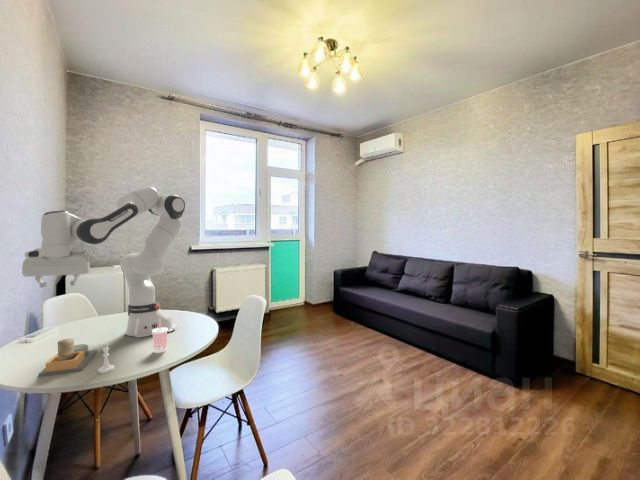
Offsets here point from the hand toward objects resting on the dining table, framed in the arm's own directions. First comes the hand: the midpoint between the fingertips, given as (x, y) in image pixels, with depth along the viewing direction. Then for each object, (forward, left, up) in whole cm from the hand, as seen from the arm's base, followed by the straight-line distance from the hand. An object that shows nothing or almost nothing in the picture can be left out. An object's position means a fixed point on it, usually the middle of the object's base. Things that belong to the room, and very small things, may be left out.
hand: (58, 286), depth 115 cm
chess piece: (-20, +20, -28) cm, 40 cm away
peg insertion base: (-6, +9, -28) cm, 30 cm away
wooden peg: (-6, +13, -27) cm, 31 cm away
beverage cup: (-36, +8, -28) cm, 47 cm away
